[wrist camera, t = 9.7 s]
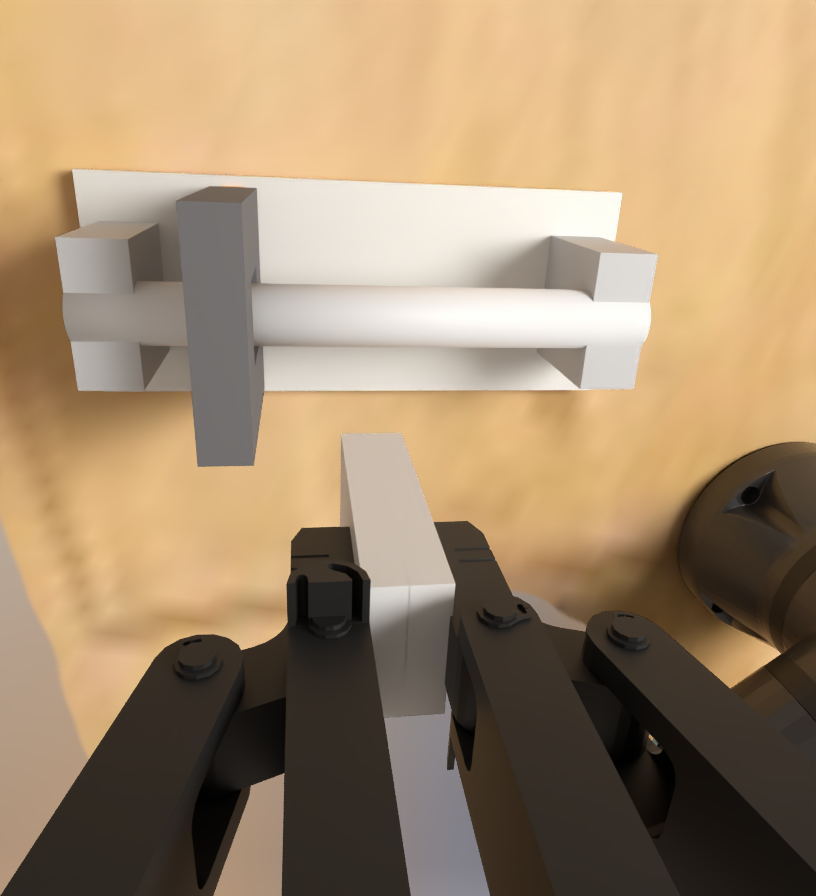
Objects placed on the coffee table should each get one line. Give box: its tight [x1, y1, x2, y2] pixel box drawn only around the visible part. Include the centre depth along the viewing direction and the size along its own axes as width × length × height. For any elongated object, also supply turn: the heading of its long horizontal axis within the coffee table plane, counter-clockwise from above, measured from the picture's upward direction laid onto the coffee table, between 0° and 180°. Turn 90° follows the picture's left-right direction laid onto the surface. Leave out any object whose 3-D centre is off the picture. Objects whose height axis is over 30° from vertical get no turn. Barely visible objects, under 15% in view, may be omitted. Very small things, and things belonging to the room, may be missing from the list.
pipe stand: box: [55, 169, 658, 392], centre depth 37 cm, size 30×12×9 cm, turn 87°
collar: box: [176, 186, 265, 467], centre depth 33 cm, size 2×11×11 cm, turn 177°
